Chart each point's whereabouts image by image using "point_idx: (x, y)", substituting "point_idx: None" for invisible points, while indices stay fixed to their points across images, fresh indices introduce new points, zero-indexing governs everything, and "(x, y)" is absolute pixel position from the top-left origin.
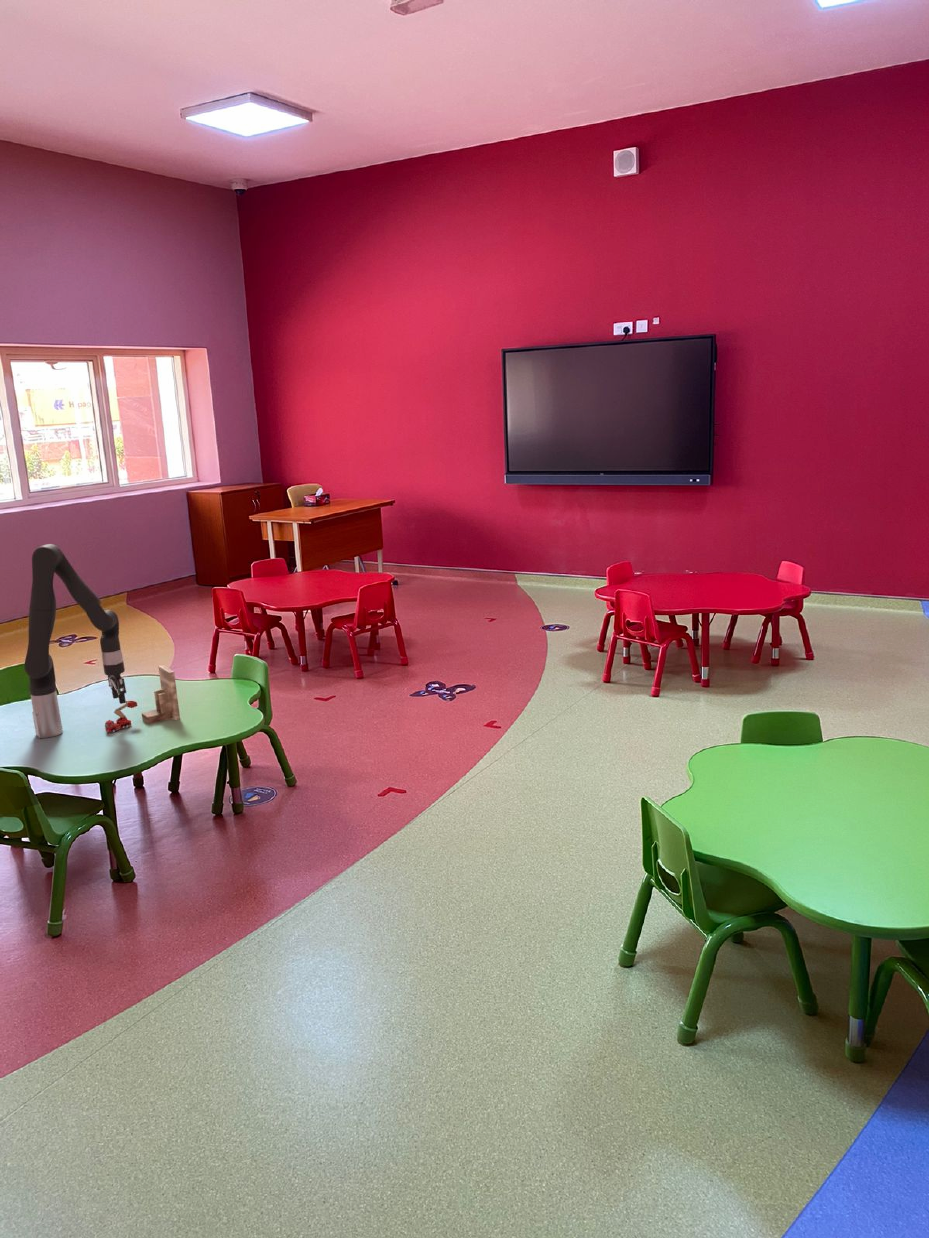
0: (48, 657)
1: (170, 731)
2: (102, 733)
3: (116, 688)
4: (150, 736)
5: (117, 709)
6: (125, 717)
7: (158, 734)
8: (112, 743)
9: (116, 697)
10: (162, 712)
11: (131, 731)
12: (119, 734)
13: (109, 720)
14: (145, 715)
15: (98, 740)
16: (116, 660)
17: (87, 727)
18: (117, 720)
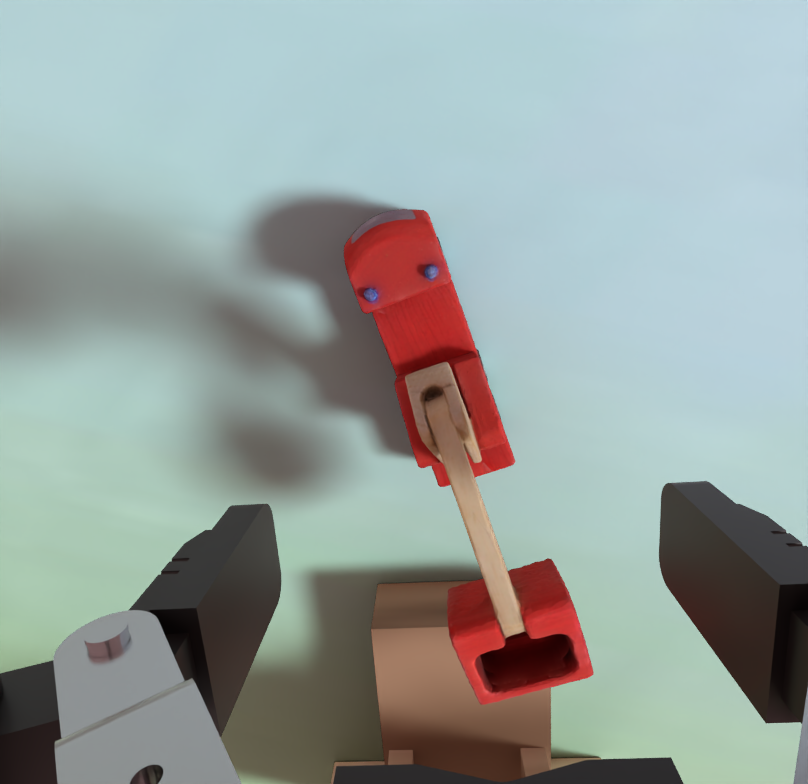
0: None
1: None
2: (410, 174)
3: (63, 761)
4: (59, 522)
5: (423, 423)
6: (422, 457)
7: (73, 582)
8: (49, 199)
9: (667, 535)
10: (387, 763)
11: (285, 426)
12: (270, 315)
13: (425, 274)
14: (439, 631)
15: (217, 89)
16: None
17: (735, 64)
18: (458, 367)
